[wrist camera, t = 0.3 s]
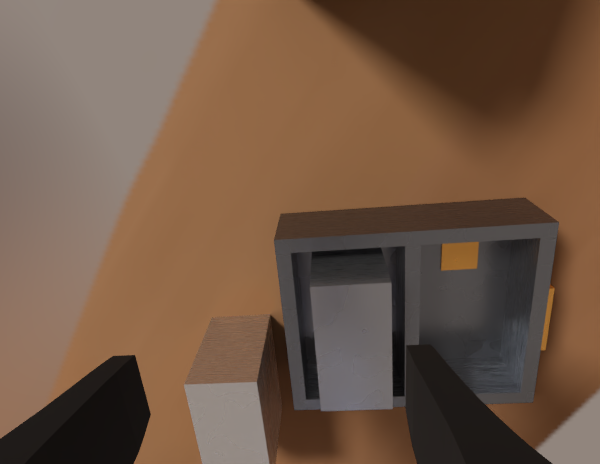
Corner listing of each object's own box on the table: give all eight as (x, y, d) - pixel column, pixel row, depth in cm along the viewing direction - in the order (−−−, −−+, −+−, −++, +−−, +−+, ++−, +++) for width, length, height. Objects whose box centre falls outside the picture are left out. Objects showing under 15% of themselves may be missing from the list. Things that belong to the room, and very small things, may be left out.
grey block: (282, 405, 25) (273, 487, 20) (229, 407, 25) (208, 488, 20) (270, 313, 22) (256, 381, 18) (212, 316, 23) (184, 384, 18)
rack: (511, 359, 23) (553, 428, 18) (297, 367, 23) (292, 435, 19) (529, 197, 19) (586, 237, 15) (280, 214, 20) (269, 256, 16)
